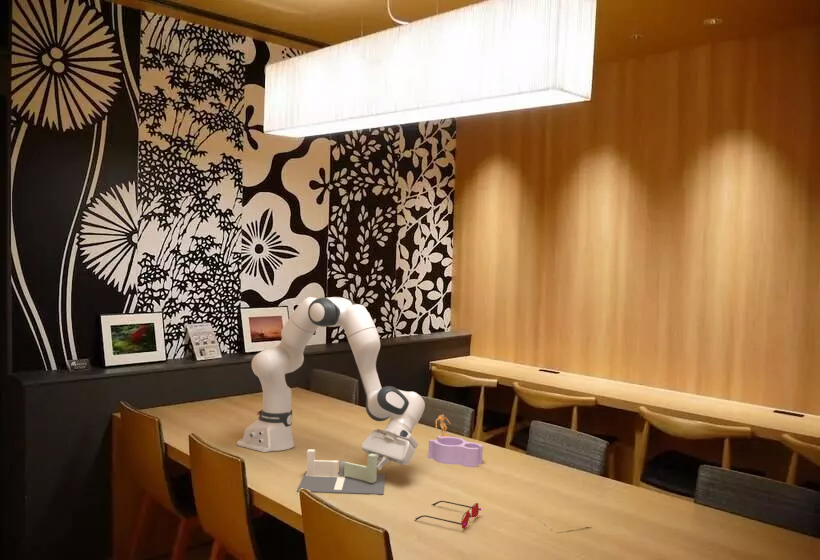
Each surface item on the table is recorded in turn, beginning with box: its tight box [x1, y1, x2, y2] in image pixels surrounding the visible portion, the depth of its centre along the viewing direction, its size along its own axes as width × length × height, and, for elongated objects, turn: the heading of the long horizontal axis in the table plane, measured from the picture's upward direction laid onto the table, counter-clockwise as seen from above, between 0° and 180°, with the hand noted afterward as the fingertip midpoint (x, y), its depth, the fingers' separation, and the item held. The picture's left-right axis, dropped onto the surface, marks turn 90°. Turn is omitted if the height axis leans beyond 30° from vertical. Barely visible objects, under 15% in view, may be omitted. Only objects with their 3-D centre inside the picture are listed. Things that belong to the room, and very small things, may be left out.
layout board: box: [296, 470, 387, 496], centre depth 226 cm, size 28×19×1 cm
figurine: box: [435, 414, 451, 437], centre depth 275 cm, size 8×6×12 cm
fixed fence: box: [306, 448, 340, 477], centre depth 231 cm, size 11×2×9 cm, turn 90°
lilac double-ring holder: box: [427, 435, 484, 468], centre depth 255 cm, size 20×12×7 cm, turn 60°
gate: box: [338, 453, 378, 483], centre depth 228 cm, size 14×2×9 cm, turn 62°
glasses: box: [415, 500, 482, 530], centre depth 200 cm, size 14×16×5 cm
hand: (375, 468), depth 227 cm, fingers closed
